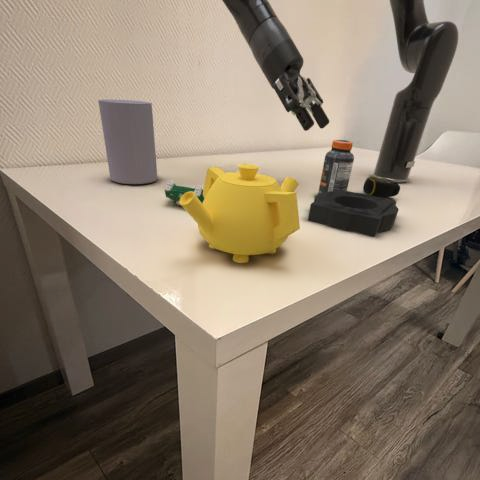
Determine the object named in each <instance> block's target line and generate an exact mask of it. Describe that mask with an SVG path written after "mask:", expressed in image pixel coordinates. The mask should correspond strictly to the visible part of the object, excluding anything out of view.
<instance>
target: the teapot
mask: <svg viewBox="0 0 480 480" xmlns="http://www.w3.org/2000/svg"><path fill="white" fill-rule="evenodd" d="M237 168H238V171H237V172H234V171H233V172H225V171H224V170H223V169H221V168H220V167H219V166H213V167H207V169H206V175H205V179H204V185H203V196H204V201H203V203H201V201H200V200H199V199H198V197H197V196H196V195H195V193H194V192H193V191H189V192H187V193H185V194H184V195H183V196H182V197H181V198H180V201H179V203H180V204H181V205H180V206H181V207H182V208H183V209H184V210H185V212H186V213H188V215H189V216H190V217H191V218H192V219H193V220H194V221H195V222H196V223H197V229H198V231H199V234H200V235H201V236H202V237H203V239H204V240H205V241H206V242H207V243H208V247H209V248H210V249H212V250H219V251H221V252H225V253H228V254H232V261H233V262H235V263H237V264H245V263H248V262H250V256H256V255H257V256H258V255H263V254H264V255H265V254H268V255H269V254H271V255H273V254H276V253H277V248H279V247H280V246H281V245H283V244H284V243H285V242H286V241H287V239H288V238H289V236H291V235H292V234H294V233H296V232H297V231H299V230H300V229H301V227H300V216H299V205H298V196H297V192H296V189H297V188H298V186H299V182H298V181H297V180H296V178H293V177H291V176H286V177H285V178H284V181H283V182H282V184H281V185H279V183H278V181H277V180H276V179H275V178H273V177H272V176H269V175H265V174H262V173H258V171H259V166H258V165H256V164H253V163H241V164H240V163H239V164H238V165H237Z"/></svg>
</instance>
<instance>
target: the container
mask: <svg viewBox="0 0 480 480" xmlns="http://www.w3.org/2000/svg"><path fill="white" fill-rule="evenodd" d="M97 101H98V108H99V114H100V121H101V127H102V134H103V139H104V140H103V141H104V146H105V147H104V148H105V153H106V158H107V159H106V160H107V164H108V172H109V178H110V180H111V181H112V182H115V183H117V184H120V185H128V186H142V185H143V186H144V185H150V184H153V183H155V182H156V181H157V180H158V168H157V154H156V142H155V141H156V140H155V129H154V118H153V117H154V115H153V103H152V102H150V101H142V100H129V99H110V98H109V99H98V100H97Z"/></svg>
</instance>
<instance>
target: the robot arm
mask: <svg viewBox="0 0 480 480" xmlns="http://www.w3.org/2000/svg"><path fill="white" fill-rule="evenodd" d="M221 1H222V2H223V4H224V6H225V7H226V8H227V10H228V11H229V13H230V14H231V16H232V18H233V19H234V21H235V23H236V25H237V27H238V29H239V31H240V33H241V35H242V37H243V39H244V40H245V42H246V44H247V45H248V47H249V49H250V51H251V53H252V56H253V58H254V59H255V62H256V64H257V65H258V66H259V68H260V70H261V72H262V74H263V75H264V77H265V78H266V80H267V82H268V84H269V85H270V87H271V88H272V89H273V90H274V92H275V94H276V95H277V97H278V99H279V101H280V102H281V104H282V105H283V108H284V109H285V111H286V112H287V113H290V112H291V114H292V115H293V116H295V118H296V119H297V121H298V122H299V124H300V126H301V128H302V129H303V131H304V132H306V131H307V132H308V131H309V130H310V129H311V128H313V127H314V125H315V122H316V124H317V126H318V127H319V129H321V130H322V129H325V128H326V127H327V126H328V125H329V124H330V119H329V117H328V115H327V114H326V112H325V110H324V109H323V107H322V106H323V104H324V100H323V98H322V97H321V95H320V94H319V92H318V90H317V88H316V87H315V85H314V83H313V82H312V80H311V78H310V77H307V78H306V77H305V76H302V75H301V69H302V68H303V67H304V66H303V65H304V63H305V62H304V57H303V55H302V54H301V53H300V51H299V49H298V47H297V46H296V44H295V42H294V40H293V39H292V37H291V36H290V33H289V31H288V30H287V28H286V27H285V25H284V24H283V23H282V22H281V20H280V18H279V17H278V15H277V13H276V12H275V10H274V9H273V7H272V5H271V3H270V2H269V0H221ZM388 1H389V6H390V8H391V13H392V18H393V24H394V31H395V37H396V38H395V39H396V44H397V52H398V57H399V62H400V65H401V67H402V68H403V70H404V71H405V72H407V73H409V74H413V76H412V79H411V81H410V82H409V83H408V85H407V86H406V87H404V88H403V89H401V90H399V91H397V92H396V94H395V96H394V99H393V102H392V106H391V110H390V113H389V118H388V120H387V124H386V128H385V132H384V135H383V139H382V142H381V145H380V149H379V152H378V157H377V160H376V163H375V168H374V171H373V174H372V177H378V178H384V179H387V180H390V181H393V182H395V183H400V184H401V183H407V182H408V181H409V176H410V173H411V170H412V168H414V166H415V163H416V161H415V159H416V156H417V153H418V149H419V147H420V144H421V140H422V138H423V136H424V132H425V130H426V127H427V123H428V119H429V116H430V114H431V111H432V108H433V105H434V103H435V102H436V100H437V98H438V96H439V95H440V94H441V91H442V89H443V87H444V84H445V82H446V80H447V76H448V74H449V71H450V69H451V67H452V64H453V60H454V58H455V55H456V51H457V48H458V44H459V29H458V26H457V25H456V23H454V22H453V21H450V20H446V21H445V20H444V21H437V22H431V23H430V21H429V19H428V16H427V12H426V7H425V1H424V0H388ZM311 115H312V116H311Z"/></svg>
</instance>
